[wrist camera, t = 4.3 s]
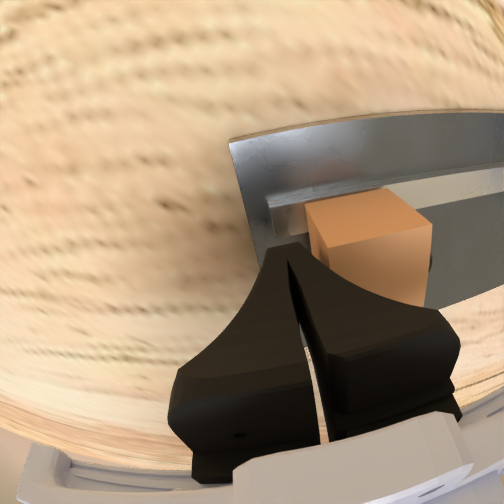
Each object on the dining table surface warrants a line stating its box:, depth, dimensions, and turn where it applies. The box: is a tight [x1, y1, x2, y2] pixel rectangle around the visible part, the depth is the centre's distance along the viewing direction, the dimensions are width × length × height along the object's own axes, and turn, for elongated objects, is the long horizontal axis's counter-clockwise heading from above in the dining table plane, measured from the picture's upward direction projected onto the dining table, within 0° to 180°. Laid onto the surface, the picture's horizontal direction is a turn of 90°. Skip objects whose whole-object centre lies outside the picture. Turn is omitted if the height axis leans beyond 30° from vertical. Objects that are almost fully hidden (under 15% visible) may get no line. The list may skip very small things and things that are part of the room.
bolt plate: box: [229, 109, 504, 347], centre depth 12 cm, size 12×24×6 cm, turn 103°
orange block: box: [304, 188, 432, 307], centre depth 12 cm, size 6×4×4 cm, turn 13°
